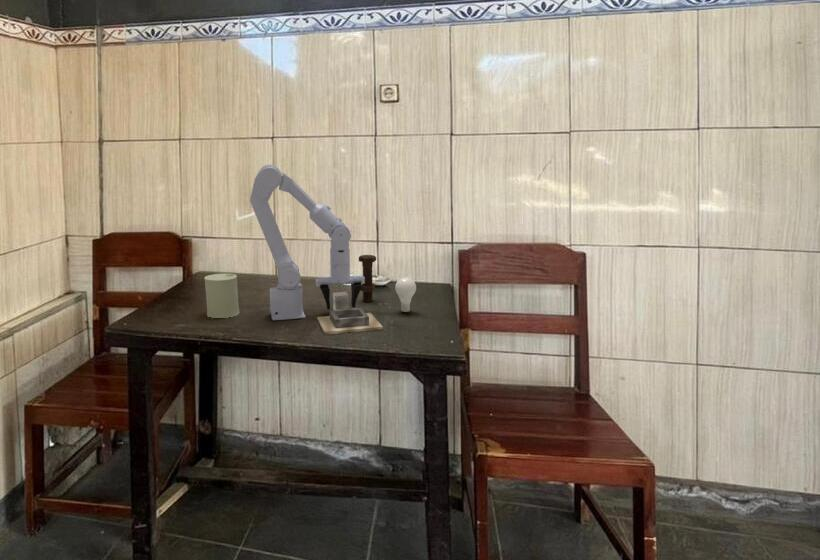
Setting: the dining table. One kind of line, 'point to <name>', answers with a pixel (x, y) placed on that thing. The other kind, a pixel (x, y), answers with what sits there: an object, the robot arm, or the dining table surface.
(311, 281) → the dining table surface
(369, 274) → the bolt
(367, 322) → the socket base
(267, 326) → the dining table surface
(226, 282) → the can
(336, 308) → the peg
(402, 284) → the lightbulb
